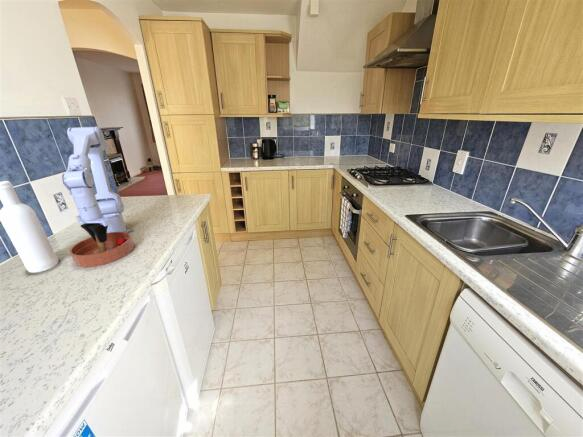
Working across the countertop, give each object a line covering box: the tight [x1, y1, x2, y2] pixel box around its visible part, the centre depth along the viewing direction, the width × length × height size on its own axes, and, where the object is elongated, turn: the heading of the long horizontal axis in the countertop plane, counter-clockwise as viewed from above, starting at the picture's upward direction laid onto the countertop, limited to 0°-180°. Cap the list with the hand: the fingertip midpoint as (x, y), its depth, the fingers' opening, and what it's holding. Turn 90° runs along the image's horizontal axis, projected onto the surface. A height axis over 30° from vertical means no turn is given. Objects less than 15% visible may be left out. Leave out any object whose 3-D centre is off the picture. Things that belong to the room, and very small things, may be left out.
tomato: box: [116, 238, 125, 245], centre depth 95 cm, size 3×3×3 cm
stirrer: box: [93, 235, 112, 254], centre depth 88 cm, size 6×6×8 cm
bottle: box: [0, 180, 59, 274], centre depth 78 cm, size 8×8×30 cm
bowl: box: [68, 232, 135, 268], centre depth 89 cm, size 18×18×5 cm
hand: (101, 240), depth 88 cm, fingers closed on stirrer, 2 cm apart
